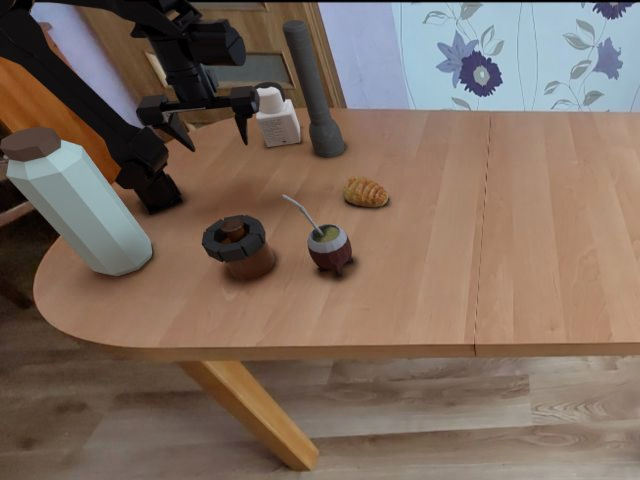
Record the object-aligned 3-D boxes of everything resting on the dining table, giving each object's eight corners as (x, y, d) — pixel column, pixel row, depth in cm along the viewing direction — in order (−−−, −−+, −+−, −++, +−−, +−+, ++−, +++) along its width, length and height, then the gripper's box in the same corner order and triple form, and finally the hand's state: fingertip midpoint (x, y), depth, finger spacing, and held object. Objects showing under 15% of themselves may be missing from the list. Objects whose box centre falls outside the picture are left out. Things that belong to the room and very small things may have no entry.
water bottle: (146, 276, 83) (48, 154, 64) (85, 282, 82) (-33, 160, 63) (164, 238, 89) (80, 118, 71) (107, 244, 88) (7, 122, 70)
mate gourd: (360, 272, 84) (341, 207, 73) (316, 286, 82) (289, 221, 71) (350, 246, 89) (330, 181, 78) (307, 259, 86) (281, 194, 75)
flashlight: (336, 138, 115) (309, 147, 112) (303, 14, 94) (269, 22, 91) (349, 150, 111) (322, 160, 108) (318, 25, 91) (282, 33, 88)
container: (268, 131, 117) (248, 80, 107) (300, 127, 118) (283, 76, 109) (267, 147, 112) (246, 95, 102) (300, 143, 113) (283, 91, 104)
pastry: (395, 195, 100) (393, 180, 97) (378, 213, 96) (375, 199, 93) (358, 184, 102) (354, 170, 99) (340, 202, 98) (336, 187, 95)
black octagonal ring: (266, 221, 85) (261, 211, 83) (265, 255, 79) (259, 244, 77) (211, 231, 83) (205, 220, 81) (206, 266, 77) (199, 256, 75)
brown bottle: (239, 286, 82) (216, 246, 75) (224, 262, 85) (200, 223, 79) (281, 265, 85) (263, 226, 78) (264, 244, 89) (245, 204, 82)
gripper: (245, 40, 84) (274, 120, 95) (129, 50, 80) (174, 132, 91) (240, 66, 77) (272, 149, 88) (112, 78, 73) (163, 163, 84)
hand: (220, 147), depth 88 cm, fingers open, 9 cm apart
